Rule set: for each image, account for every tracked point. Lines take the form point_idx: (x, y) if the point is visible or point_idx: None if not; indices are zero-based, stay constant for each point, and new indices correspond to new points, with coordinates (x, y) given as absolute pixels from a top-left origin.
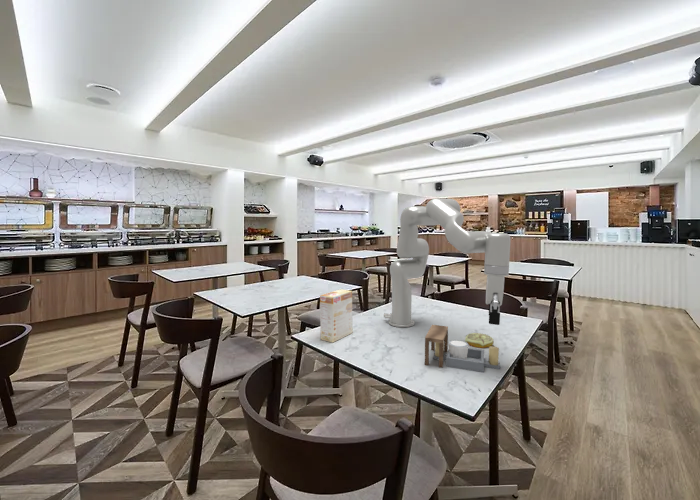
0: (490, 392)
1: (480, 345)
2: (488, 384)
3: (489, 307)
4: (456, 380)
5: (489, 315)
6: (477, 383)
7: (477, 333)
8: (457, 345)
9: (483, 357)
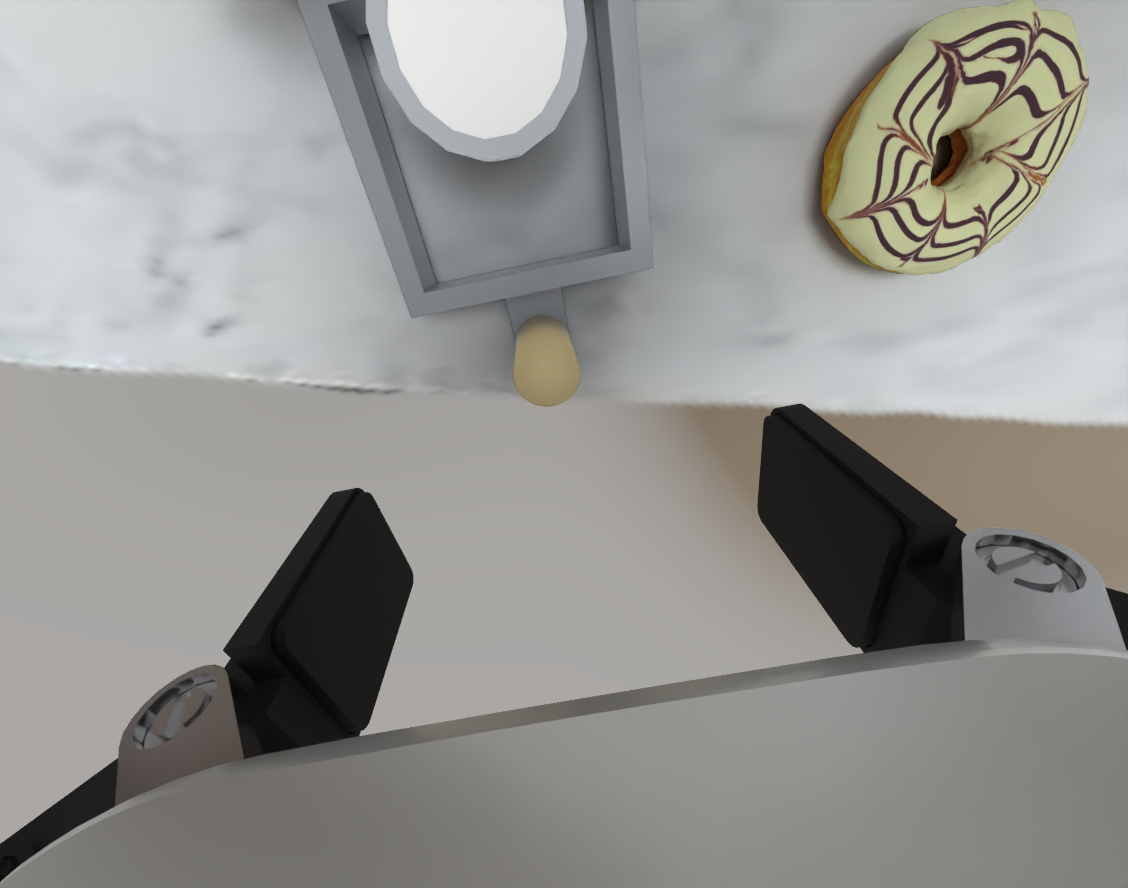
0: (243, 378)
1: (833, 193)
2: (318, 353)
3: (852, 490)
4: (204, 170)
5: (271, 588)
6: (280, 301)
7: (1051, 117)
8: (411, 38)
9: (509, 293)
